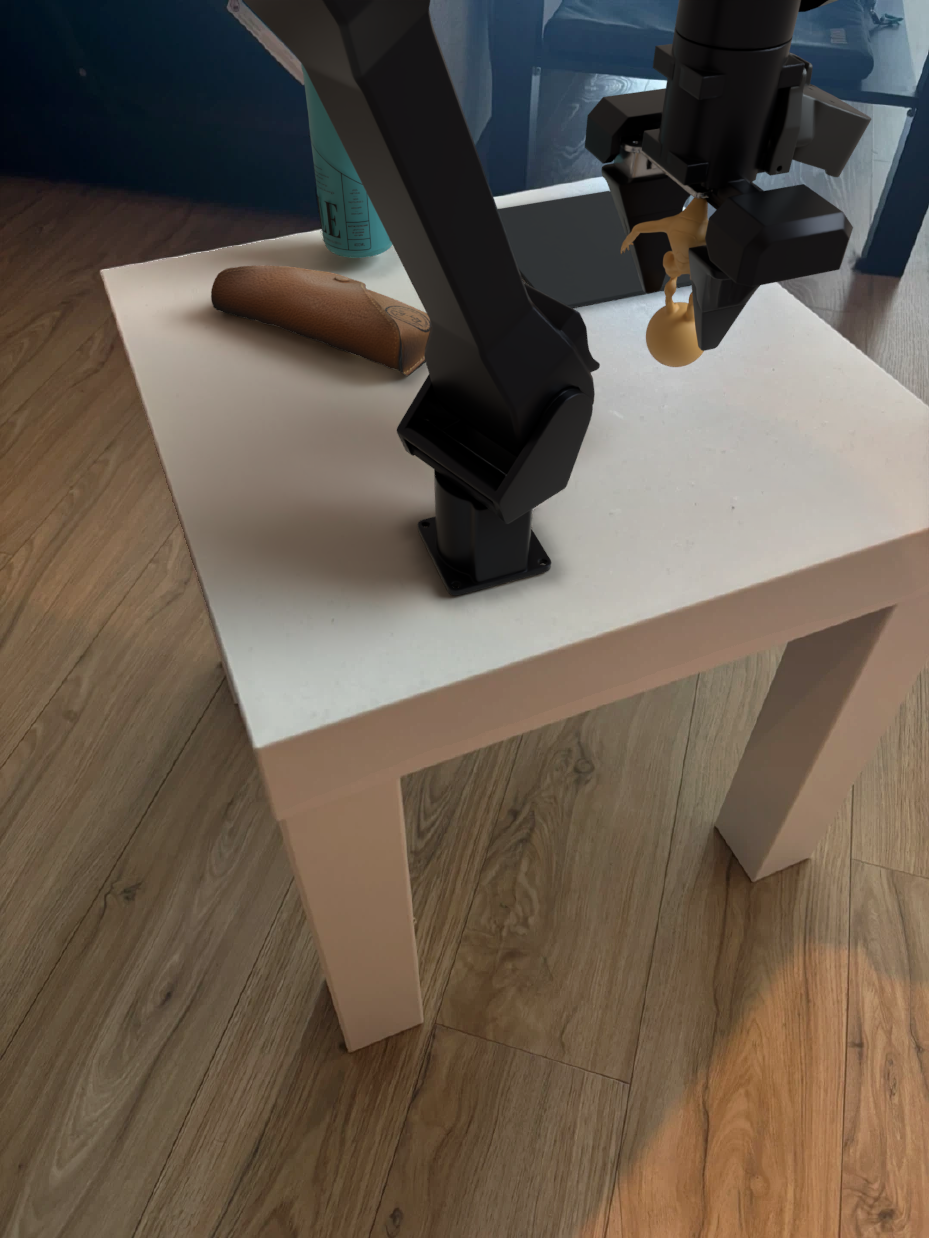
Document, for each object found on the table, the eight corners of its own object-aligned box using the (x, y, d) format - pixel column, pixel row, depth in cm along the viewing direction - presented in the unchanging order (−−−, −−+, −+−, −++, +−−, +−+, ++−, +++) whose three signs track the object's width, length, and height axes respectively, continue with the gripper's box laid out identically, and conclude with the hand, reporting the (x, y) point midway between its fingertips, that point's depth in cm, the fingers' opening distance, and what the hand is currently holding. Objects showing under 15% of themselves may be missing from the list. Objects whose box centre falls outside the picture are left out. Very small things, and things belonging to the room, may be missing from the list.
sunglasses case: (459, 324, 73) (435, 274, 67) (420, 402, 73) (392, 358, 66) (276, 267, 79) (238, 216, 73) (238, 339, 79) (197, 293, 72)
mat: (702, 283, 79) (703, 278, 79) (550, 312, 76) (550, 308, 75) (608, 194, 90) (609, 190, 90) (472, 217, 87) (472, 213, 87)
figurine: (742, 364, 61) (796, 184, 52) (710, 416, 58) (762, 234, 48) (624, 326, 64) (656, 147, 54) (588, 374, 60) (614, 192, 51)
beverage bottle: (412, 252, 82) (401, -14, 68) (367, 284, 79) (345, 10, 64) (352, 233, 85) (329, -28, 70) (306, 264, 81) (271, -5, 66)
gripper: (998, 75, 42) (882, 374, 54) (770, -33, 54) (716, 232, 65) (785, 107, 39) (712, 414, 51) (594, -14, 51) (570, 258, 63)
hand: (678, 319), depth 58 cm, fingers closed on figurine, 7 cm apart
